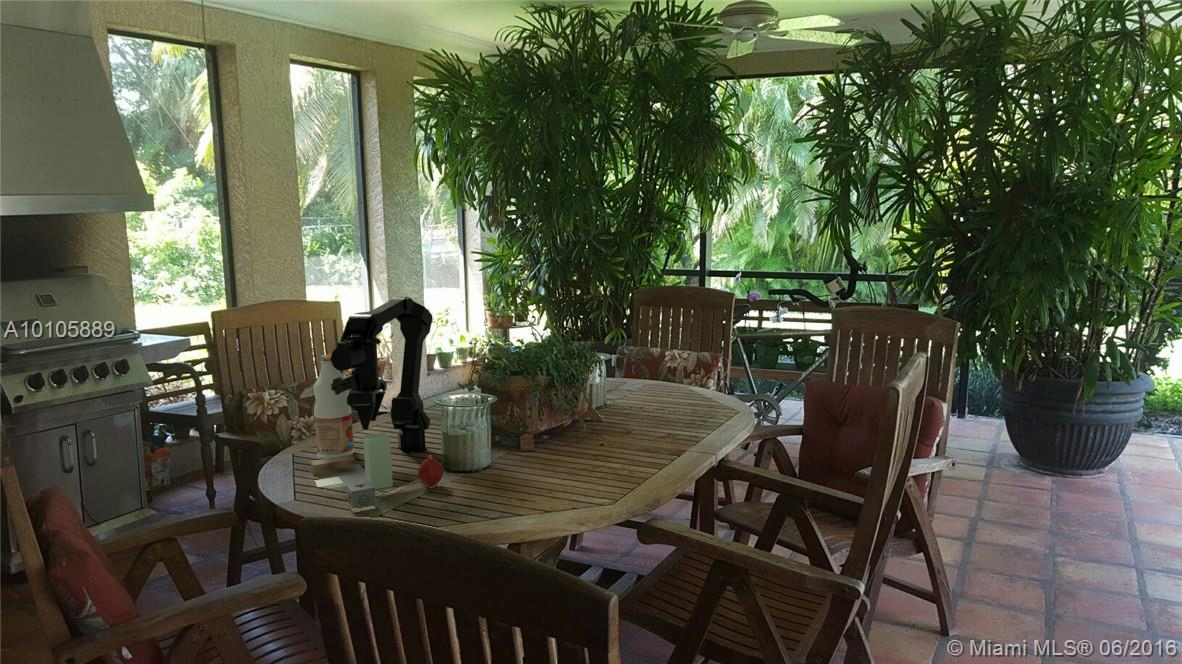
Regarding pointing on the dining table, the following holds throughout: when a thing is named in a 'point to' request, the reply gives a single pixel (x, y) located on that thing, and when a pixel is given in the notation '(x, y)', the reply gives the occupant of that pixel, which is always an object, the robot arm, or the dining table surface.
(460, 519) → the dining table surface
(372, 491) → the dice cube
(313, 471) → the beam
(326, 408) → the fruit juice
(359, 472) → the board
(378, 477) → the post
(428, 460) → the onion
